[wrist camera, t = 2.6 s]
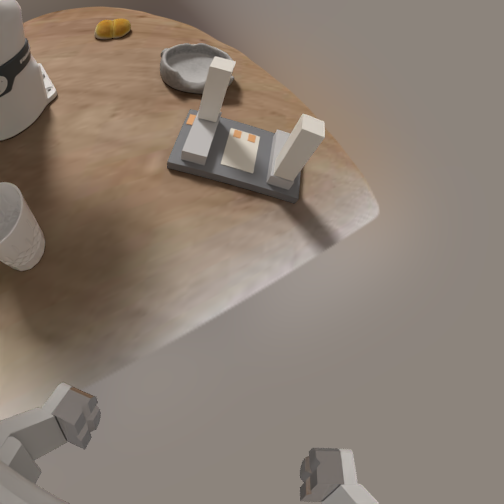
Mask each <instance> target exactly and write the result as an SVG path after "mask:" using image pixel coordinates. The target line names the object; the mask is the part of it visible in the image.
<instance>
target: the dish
mask: <svg viewBox="0 0 504 504" xmlns="http://www.w3.org/2000/svg"><path fill="white" fill-rule="evenodd" d="M215 56H217V57H221V58H224V59H228V60H232V59H231V58H230V56H229V55H228V54H227V53H225V52H224V51H222V50H220V49H217V48H215V47H213V46H210V45H207V44H203V43H199V44H195V45H191V44H188V43H185V44H180V45H176V46H173V47H171V48H169V49H168V48H166V49H164V50H163V51H162V53H161V57H162V58H161V62H160V74H161V77H162V79H163V81H164V82H165V83H166V84H168V85H169V86H171V87H172V88H175V89H177V90H180V91H184V92H189V93H199V94H203V91H204V87H205V82H206V78H207V75H208V71H209V67H210V65H211V63H212V61H213V59H214V57H215ZM232 61H233V60H232ZM232 73H233V72H232ZM233 80H234V77H233V76H232V75H231V78H230V81H229V84H228V86H229V85H230V84H231V83H232V81H233Z"/></svg>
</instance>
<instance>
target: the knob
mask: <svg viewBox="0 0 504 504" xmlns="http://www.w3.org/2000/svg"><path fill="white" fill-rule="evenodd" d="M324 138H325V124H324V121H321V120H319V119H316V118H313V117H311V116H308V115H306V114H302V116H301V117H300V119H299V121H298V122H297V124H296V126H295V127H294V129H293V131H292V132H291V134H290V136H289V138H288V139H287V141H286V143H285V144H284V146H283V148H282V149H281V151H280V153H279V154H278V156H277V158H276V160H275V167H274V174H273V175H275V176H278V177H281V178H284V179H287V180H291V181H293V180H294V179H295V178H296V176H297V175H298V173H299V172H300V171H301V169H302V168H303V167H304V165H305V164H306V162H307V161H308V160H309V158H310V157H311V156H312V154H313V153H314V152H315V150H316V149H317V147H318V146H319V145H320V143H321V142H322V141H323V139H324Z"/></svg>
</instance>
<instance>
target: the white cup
mask: <svg viewBox="0 0 504 504" xmlns="http://www.w3.org/2000/svg"><path fill="white" fill-rule="evenodd" d="M44 248H45V238H44V235H43V232H42V230H41V228H40V227H39V225H38V223H37V220H36V219H35V217H34V215H33V213H32V211H31V210H30V208H29V206H28V204H27V203H26V201H25V199H24V197H23V195H22V193H21V191H20V190H19V188H18V187H17V186H16V185H14V184H12V183H9V182H1V183H0V261H1V262H3V263H5V264H6V265H9V266H10V267H11V268H13V269H16V270H19V271H24V270H28V269H31V268H32V267H34V266H35V265H36V264H37V263H38V262H39V261H40V259H41V257H42V255H43V253H44Z"/></svg>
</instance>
